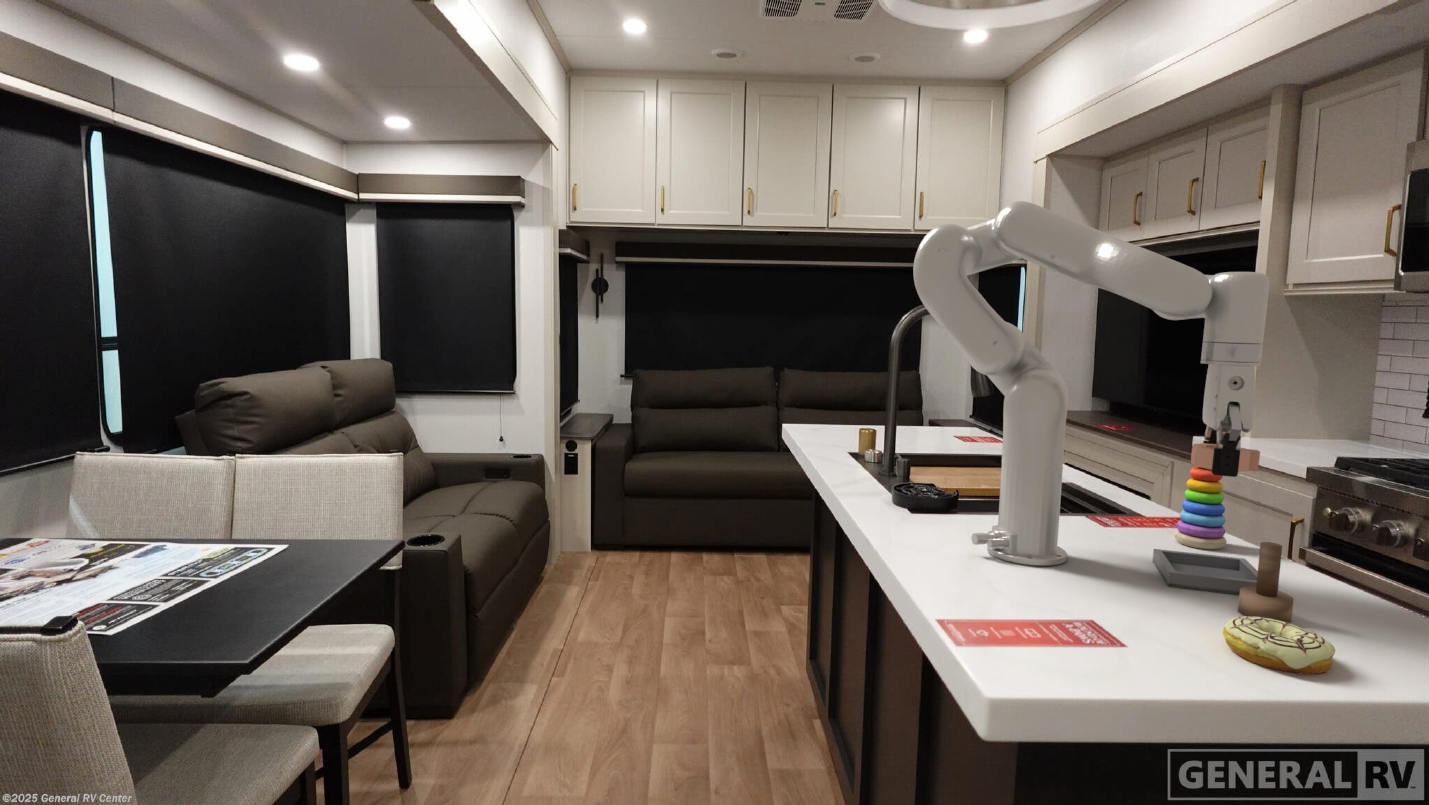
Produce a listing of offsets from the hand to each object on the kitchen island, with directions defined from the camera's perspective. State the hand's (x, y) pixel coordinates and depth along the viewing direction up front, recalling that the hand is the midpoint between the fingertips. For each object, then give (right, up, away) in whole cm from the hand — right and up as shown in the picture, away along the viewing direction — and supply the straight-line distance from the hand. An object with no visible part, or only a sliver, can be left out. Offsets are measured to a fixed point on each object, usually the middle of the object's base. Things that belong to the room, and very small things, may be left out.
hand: (1218, 470), depth 117 cm
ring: (0, +1, 0) cm, 1 cm away
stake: (-2, -19, -12) cm, 23 cm away
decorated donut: (-10, -21, -25) cm, 34 cm away
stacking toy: (+11, -16, +22) cm, 29 cm away
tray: (0, -17, +3) cm, 17 cm away
